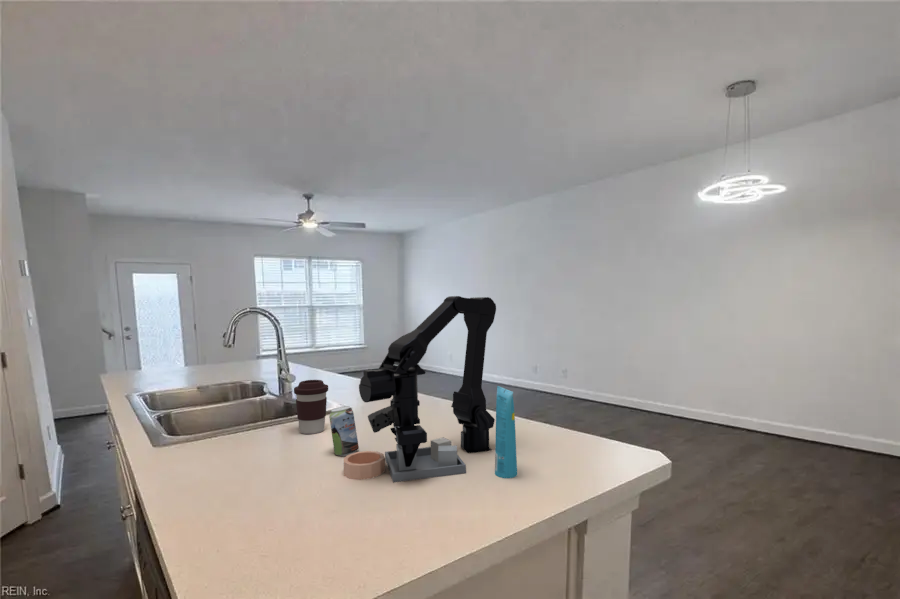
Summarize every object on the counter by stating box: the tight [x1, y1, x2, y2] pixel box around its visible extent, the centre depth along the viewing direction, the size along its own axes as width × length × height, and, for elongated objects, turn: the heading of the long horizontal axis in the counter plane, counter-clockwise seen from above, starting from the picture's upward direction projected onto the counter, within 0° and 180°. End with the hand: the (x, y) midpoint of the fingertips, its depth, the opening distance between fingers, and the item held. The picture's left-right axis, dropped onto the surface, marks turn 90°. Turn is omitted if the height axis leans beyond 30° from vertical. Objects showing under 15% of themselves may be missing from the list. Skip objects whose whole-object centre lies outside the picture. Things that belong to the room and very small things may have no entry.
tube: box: [494, 385, 518, 479], centre depth 97 cm, size 7×5×19 cm, turn 26°
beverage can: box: [329, 405, 359, 457], centre depth 112 cm, size 6×7×12 cm
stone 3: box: [438, 444, 458, 467], centre depth 100 cm, size 4×4×5 cm
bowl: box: [343, 450, 386, 481], centre depth 100 cm, size 9×9×4 cm
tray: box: [384, 446, 467, 483], centre depth 102 cm, size 16×14×2 cm
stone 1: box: [396, 443, 417, 471], centre depth 101 cm, size 4×4×5 cm
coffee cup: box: [293, 379, 329, 435], centre depth 133 cm, size 10×10×15 cm
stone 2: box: [430, 436, 452, 462], centre depth 106 cm, size 4×3×4 cm
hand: (406, 463), depth 101 cm, fingers closed on stone 1, 4 cm apart
